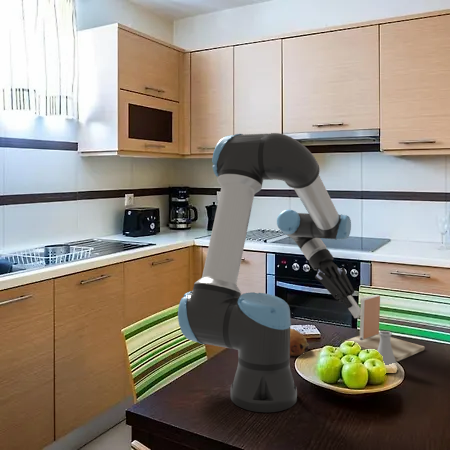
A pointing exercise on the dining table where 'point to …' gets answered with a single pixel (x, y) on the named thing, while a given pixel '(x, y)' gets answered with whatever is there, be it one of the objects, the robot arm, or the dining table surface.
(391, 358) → the flask
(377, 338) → the board
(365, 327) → the tile
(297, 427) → the dining table surface
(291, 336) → the brown rounded lump
